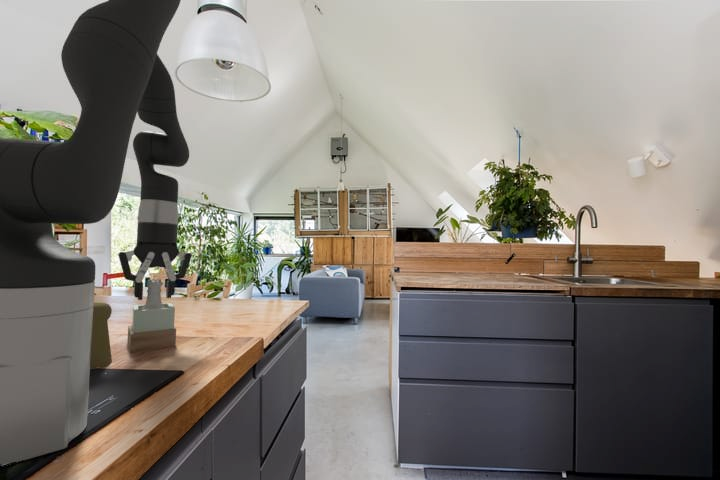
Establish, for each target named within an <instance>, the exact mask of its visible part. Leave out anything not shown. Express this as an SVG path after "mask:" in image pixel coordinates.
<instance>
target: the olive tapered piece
mask: <svg viewBox="0 0 720 480" xmlns="http://www.w3.org/2000/svg"><path fill="white" fill-rule="evenodd" d="M111 315H112V306H111V305H110V304H109V303H107V302H106V303H105V302H94V305H93V321H92V339H91V357H90V371H91V370H96V369H100V368H103V367H105V366H106V367H107V366H108V365H110V364H111V363H112V362H113V358H112V349H111V341H110V331H109V324H108V323H109V322H108V320H109V319H110V318H111Z"/></svg>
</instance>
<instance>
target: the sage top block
mask: <svg viewBox="0 0 720 480" xmlns="http://www.w3.org/2000/svg"><path fill="white" fill-rule="evenodd" d="M162 304H163V306H164V307H165V308H160V309H147V310H142V308H143V307H144V305H145V304H137V305H135V304H134V305H133V306H132V321H131V322H132V324H131V326H132V327H133V333H140V332H149V331H157V330H166V329H174V327H175V315H176V314H175V312H176V311H175V310H176V307H175V306H174V305H173V304H172V302H162Z"/></svg>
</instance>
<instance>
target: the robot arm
mask: <svg viewBox="0 0 720 480" xmlns="http://www.w3.org/2000/svg"><path fill="white" fill-rule="evenodd" d="M181 1H182V0H106V1H104V2H101V3H98V4H96V5H94V6H92V7H90V8H88V9H86V10H85V11H84V12H83V13H82V14H80V15H79V16H78V17H77V19H76V21H75V22H74V24H73V26H72V28H71V30H70V32H69V33H68V35H67V38H65V41H64V42H63V43H64V44H63V45H62V48H61V53H60V57H61V64H62V68H63V71H64V74H65V76H66V78H67V80H68V83H69V84H70V87H71V88H72V90H73V93H74V94H75V95H76V97H77V101H78V102H79V104H80V108H81V111H80V116H79V119H78V121H77V125H76V127H75V129H74V130H73V133H72V135H71V136H70V137H69V138H68V139H66V140H65V141H52V140H39V139H38V140H37V139H27V138H26V139H25V138H24V139H23V138H9V137H8V138H5V137H4V138H3V137H2V138H0V464H1V465H2V464H6V463H9V462H16V463H19V461H20V462H22V460H23V461H26V460H29V459H33V458H36V457H40V456H43V455H47V454H49V453H54V452H58V451H61V450H64V449H66V448H68V445H69V443H70V442H71V441H72V440H73V439H75V438H76V437H78V436H79V435H80V434H81V433H83V431H84V430H85V429H86V427H87V426H88V424H87V423H88V408H89V396H90V395H89V393H90V391H89V390H90V389H89V388H90V374H91V373H90V372H91V370H90V357H91V339H92V321H93V305H94V303H95V287H96V285H95V284H96V282H95V281H96V262H95V261H94V260H93V259H94V258H91V257H90V256H88V255H85V254H82V253H79V252H76V251H74V250H71V249H70V248H67V247H66V246H64V245H63V244H61V243H59V242H58V240H56V238H55V237H54V232H53V231H54V230H53V224H63V225H65V224H66V225H91V224H95V223H98V222H101V221H102V220H104V219H105V218H107V216H108V215H109V214H110V213H111V212H112V210H113V207H114V205H115V203H116V201H117V198H118V195H119V191H120V188H121V182H122V178H123V174H124V169H125V165H126V164H125V162H126V158H127V154H128V148H129V143H130V137H131V135H132V130H133V126H134V123H135V120H136V116H137V115H138V118H139V119H140V120H141V121H142V122H143V123H144V124H147V125H150V126H153V127H156V128H158V129H160V130H161V131H163V133H161V132H154V131H147V130H143V131H140V132H138V133H137V134H136V135H134V137H133V141H132V148H133V153H134V155H135V159H136V162H137V165H138V171H139V176H140V201H139V205H138V206H139V207H138V210H137V211H138V213H137V230H136V231H137V233H136V244H135V247H134V248H133V250H128V251H120V252H118V260H119V263H120V266H121V270H122V273H123V277H124V279H125V280H126V281H132V282H133V283H134V285H133V296H134V298H137V300H138V301H142V300H143V294H144V293H143V292H144V282H143V280H144V278H145V277H146V276H145V275H146V274H147V272H148V270H149V268H150V269H151V268H152V269H153V268H163V269H164V272H165V274H166V277H167V280H166V289H165V297H166V299H171V298H172V296H175V293H176V292H175V290H176V281H177V280H180V279H183V278H185V277H186V274H187V271H188V268H189V265H190V263H191V259H192V254H191V252H183V251H180V250H179V248H178V231H179V230H178V228H179V227H178V226H179V207H178V203H179V202H178V200H179V181H178V180H177V179H176V178H175V177H173V176H170V175H167V174H164V173H160V172H157V171H156V170H155V167H154V166H155V165H157V166H166V167H174V168H176V167H177V168H180V167H184V166H185V165H187V163H188V161H189V159H190V149H189V146H188V142H187V140H186V138H185V136H184V133H183V130H182V128H181V125H180V122H179V118H178V114H177V113H178V112H177V111H178V110H177V103H176V94H175V92H176V91H175V87H174V85H175V84H174V82H173V79H172V77H171V74H170V73H169V70H168V69H167V67H166V66H165V63H164V62H163V61H162V59H161V58H160V56H159V54H158V51H159V48H160V45H161V42H162V40H163V38H164V35H165V32H166V31H167V29H168V27H169V26H170V24H171V22H172V20H173V19H174V16H175V15H176V13H177V10H178V9H179V7H180V4H181ZM133 256H135V257H136V258H137V260H139V262H140V265H139V268H138V270H137V272H136V274H133V273H132V270H131V267H130V263H129V262H130V261H132V259H133ZM177 257H178V258H179V261H180V265H179V268H178V270H177V273H175V270H174V267H173V265H172V262H173V261H174V260H175V259H176V258H177Z"/></svg>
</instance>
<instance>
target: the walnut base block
mask: <svg viewBox="0 0 720 480" xmlns="http://www.w3.org/2000/svg"><path fill="white" fill-rule="evenodd" d="M176 339H177V327H175V326H174V329H166V330H157V331H149V332H140V333H133V327H132V325H128V326H127V341H126V342H127V347H128V350H129V353H130V354H131V353H137V352H143V351H150V350H156V349H164V348H168V347H169V348H170V347H175V346H176V341H177V340H176Z"/></svg>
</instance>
